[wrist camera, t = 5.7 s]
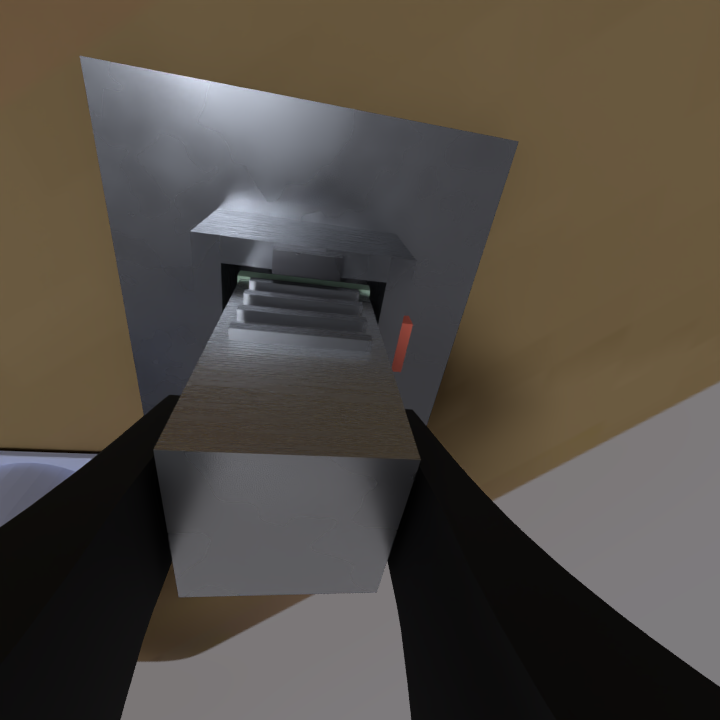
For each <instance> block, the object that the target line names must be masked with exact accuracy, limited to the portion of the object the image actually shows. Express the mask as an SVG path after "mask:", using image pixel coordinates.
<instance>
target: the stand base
mask: <svg viewBox="0 0 720 720" xmlns="http://www.w3.org/2000/svg"><path fill="white" fill-rule="evenodd" d="M80 60H81V66H82V71H83V77H84V82H85V88H86V93H87V99H88V105H89V110H90V116H91V121H92V127H93V133H94V138H95V144H96V149H97V155H98V161H99V166H100V172H101V177H102V183H103V189H104V194H105V200H106V205H107V211H108V217H109V222H110V228H111V233H112V239H113V245H114V250H115V256H116V261H117V267H118V273H119V278H120V284H121V289H122V295H123V301H124V306H125V312H126V317H127V323H128V329H129V334H130V340H131V345H132V351H133V357H134V362H135V368H136V373H137V379H138V385H139V390H140V396H141V401H142V407H143V413H144V415H145V414H146V413H148V412H149V411H150V410H151V409H152V408H153V407H155V406H156V405H157V404H158V403H159V402H161V401H162V400H163V399H164V398H166V397H167V396H168V395H181V394H182V392H183V390H184V388H185V386H186V384H187V382H188V380H189V378H190V376H191V374H192V372H193V370H194V369H195V367H196V365H197V363H198V361H199V359H200V357H201V355H202V353H203V351H204V349H205V347H206V345H207V343H208V341H209V339H210V337H211V335H212V333H213V331H214V329H215V327H216V325H217V323H218V321H219V319H220V317H221V315H222V313H223V311H224V309H225V307H226V305H227V303H228V301H229V299H230V298H231V296H232V294H233V292H234V290H235V288H236V286H237V284H238V281H237V276H238V274H239V272H240V270H241V271H252V272H260V273H269V274H277V275H286V276H295V277H303V278H312V279H320V280H329V281H338V282H346V283H355V284H363V285H369V288H370V296H369V299H370V302H371V305H372V308H373V311H374V315H375V318H376V321H377V324H378V327H379V330H380V333H381V337H382V340H383V343H384V346H385V349H386V352H387V355H388V358H389V362H390V365H391V368H392V371H393V374H394V377H395V380H396V384H397V387H398V390H399V393H400V396H401V399H402V402H403V405H404V409H413V411H414V412H415V413H416V414H417V415H418V416H419V418H420V419H421V420H422V421H423V423H424V424H425V425H426V426H427V423H428V420H429V417H430V414H431V411H432V408H433V404H434V401H435V398H436V395H437V392H438V389H439V386H440V383H441V380H442V377H443V374H444V371H445V367H446V364H447V361H448V358H449V355H450V352H451V349H452V346H453V343H454V340H455V337H456V333H457V330H458V327H459V324H460V321H461V318H462V315H463V312H464V309H465V306H466V303H467V299H468V296H469V293H470V290H471V287H472V284H473V281H474V278H475V275H476V272H477V269H478V265H479V262H480V259H481V256H482V253H483V250H484V247H485V244H486V241H487V238H488V235H489V231H490V228H491V225H492V222H493V219H494V216H495V213H496V210H497V207H498V204H499V201H500V197H501V194H502V191H503V188H504V185H505V182H506V179H507V176H508V173H509V170H510V167H511V164H512V160H513V157H514V154H515V151H516V148H517V145H518V141H513V140H508V139H503V138H498V137H493V136H488V135H482V134H477V133H472V132H467V131H462V130H457V129H452V128H447V127H442V126H436V125H431V124H426V123H421V122H416V121H411V120H406V119H401V118H395V117H390V116H385V115H380V114H375V113H370V112H365V111H360V110H355V109H349V108H344V107H339V106H334V105H329V104H324V103H319V102H314V101H308V100H303V99H298V98H293V97H288V96H283V95H278V94H273V93H268V92H262V91H257V90H252V89H247V88H242V87H237V86H232V85H227V84H221V83H216V82H211V81H206V80H201V79H196V78H191V77H186V76H181V75H175V74H170V73H165V72H160V71H155V70H150V69H145V68H140V67H134V66H129V65H124V64H119V63H114V62H109V61H104V60H99V59H94V58H88V57H83V56H80Z"/></svg>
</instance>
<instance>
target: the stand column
mask: <svg viewBox="0 0 720 720" xmlns="http://www.w3.org/2000/svg"><path fill="white" fill-rule="evenodd" d="M237 281H238V284H237V286H236V288H235V290H234V292H233V294H232V296H231V298H230V299H229V301H228V303H227V305H226V307H225V309H224V311H223V313H222V315H221V317H220V319H219V321H218V323H217V325H216V327H215V329H214V331H213V333H212V335H211V337H210V339H209V341H208V343H207V345H206V347H205V349H204V351H203V353H202V355H201V357H200V359H199V361H198V363H197V365H196V367H195V369H194V370H193V372H192V374H191V376H190V378H189V380H188V382H187V384H186V386H185V388H184V390H183V392H182V394H181V396H180V398H179V400H178V402H177V404H176V406H175V408H174V410H173V412H172V414H171V416H170V418H169V420H168V422H167V424H166V426H165V428H164V430H163V432H162V434H161V436H160V438H159V440H158V441H157V443H156V445H155V447H154V449H153V451H154V457H155V463H156V469H157V474H158V480H159V486H160V492H161V498H162V503H163V509H164V515H165V521H166V527H167V532H168V538H169V544H170V550H171V555H172V561H173V567H174V573H175V579H176V584H177V590H178V596H179V597H210V596H251V595H291V594H331V593H371V592H377V589H378V586H379V584H380V581H381V578H382V575H383V572H384V568H385V566H386V563H387V560H388V557H389V554H390V551H391V548H392V545H393V542H394V539H395V536H396V533H397V530H398V527H399V524H400V521H401V518H402V515H403V512H404V509H405V506H406V503H407V500H408V497H409V494H410V491H411V488H412V485H413V482H414V479H415V476H416V473H417V470H418V467H419V464H420V461H421V459H420V456H419V452H418V449H417V446H416V443H415V440H414V437H413V434H412V431H411V427H410V424H409V421H408V418H407V415H406V412H405V409H404V405H403V402H402V399H401V396H400V393H399V390H398V387H397V384H396V380H395V377H394V374H393V371H392V368H391V365H390V362H389V358H388V355H387V352H386V349H385V346H384V343H383V340H382V337H381V333H380V330H379V327H378V324H377V321H376V318H375V315H374V311H373V308H372V305H371V302H370V299H369V296H370V288H369V285H363V284H355V283H346V282H338V281H329V280H320V279H312V278H303V277H295V276H286V275H277V274H269V273H260V272H252V271H241V270H240V272H239V274H238V276H237Z"/></svg>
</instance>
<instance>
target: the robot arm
mask: <svg viewBox="0 0 720 720" xmlns="http://www.w3.org/2000/svg"><path fill="white" fill-rule="evenodd" d="M180 396H181V395H168V396H167V397H166V398H164V399H163V400H162V401H161V402H159V403H158V404H157V405H156V406H155V407H153V408H152V409H151V410H150V411H149V412H148V413H146V414H145V415H144V416H143V417H142V418H141V419H139V420H138V421H137V422H136V423H135V424H134V425H132V426H131V427H130V428H129V429H128V430H127V431H125V432H124V433H123V434H122V435H121V436H119V437H118V438H117V439H116V440H115V441H113V442H112V443H111V444H110V445H108V446H107V447H106V448H105V449H104V450H102V451H101V452H100V453H99V454H80V453H51V452H22V451H0V720H120V719H121V715H122V711H123V708H124V704H125V701H126V697H127V694H128V690H129V687H130V684H131V680H132V677H133V673H134V670H135V666H136V663H137V659H138V656H139V652H140V649H141V645H142V642H143V639H144V636H145V633H146V630H147V627H148V624H149V621H150V618H151V615H152V612H153V610H154V607H155V605H156V602H157V599H158V597H159V594H160V591H161V589H162V586H163V584H164V581H165V578H166V576H167V573H168V571H169V568H170V565H171V563H172V555H171V550H170V544H169V538H168V532H167V527H166V521H165V515H164V509H163V503H162V498H161V492H160V486H159V480H158V474H157V469H156V463H155V457H154V451H153V449H154V447H155V445H156V443H157V441H158V440H159V438H160V436H161V434H162V432H163V430H164V428H165V426H166V424H167V422H168V420H169V418H170V416H171V414H172V412H173V410H174V408H175V406H176V404H177V402H178V400H179V398H180ZM405 412H406V415H407V418H408V421H409V424H410V427H411V431H412V434H413V437H414V440H415V443H416V446H417V449H418V452H419V456H420V459H421V461H420V464H419V467H418V470H417V473H416V476H415V479H414V482H413V485H412V488H411V491H410V494H409V497H408V500H407V503H406V506H405V509H404V512H403V515H402V518H401V521H400V524H399V527H398V530H397V533H396V536H395V539H394V542H393V545H392V548H391V551H390V554H389V557H388V560H387V561H388V565H389V570H390V574H391V580H392V584H393V589H394V594H395V599H396V603H397V609H398V614H399V621H400V626H401V632H402V642H403V650H404V658H405V666H406V675H407V683H408V692H409V701H410V711H411V720H720V687H719V686H718V685H716V684H715V683H714V682H712V681H711V680H709V679H708V678H706V677H705V676H703V675H702V674H701V673H699V672H698V671H697V670H695V669H694V668H692V667H691V666H690V665H688V664H687V663H685V662H684V661H682V660H681V659H680V658H679V657H677V656H676V655H674V654H673V653H672V652H670V651H669V650H667V649H666V648H665V647H663V646H662V645H661V644H659V643H658V642H656V641H655V640H654V639H652V638H651V637H649V636H648V635H647V634H646V633H644V632H643V631H642V630H640V629H639V628H638V627H636V626H635V625H634V624H632V623H631V622H630V621H628V620H627V619H626V618H625V617H623V616H622V615H621V614H619V613H618V612H617V611H615V610H614V609H613V608H612V607H611V606H609V605H608V604H607V603H606V602H604V601H603V600H602V599H601V598H599V597H598V596H597V595H595V594H594V593H593V592H592V591H591V590H589V589H588V588H587V587H586V586H584V585H583V584H582V583H581V582H580V581H578V580H577V579H576V578H575V577H573V576H572V575H571V574H570V573H569V572H568V571H566V570H565V569H564V568H563V567H562V566H561V565H559V564H558V563H557V562H556V561H555V560H554V559H553V558H551V557H550V556H549V555H548V554H547V553H546V552H545V551H544V550H543V549H542V548H540V547H539V546H538V545H537V544H536V543H535V542H534V541H533V540H531V538H529V537H528V536H527V535H526V534H525V533H524V532H523V531H521V529H520V528H519V527H518V526H517V525H515V524H514V523H513V522H512V521H511V520H510V519H509V518H508V517H507V516H506V515H505V514H504V513H503V512H502V511H501V510H500V509H499V507H498V506H497V505H496V504H495V503H493V501H492V500H491V499H490V498H489V497H488V496H487V495H486V494H485V493H484V492H483V491H482V490H481V489H480V488H479V487H478V486H477V484H476V483H475V482H474V481H473V480H472V479H471V478H470V477H469V476H468V475H467V473H466V472H465V471H464V470H463V469H462V468H461V467H460V466H459V464H458V463H457V462H456V461H455V460H454V459H453V457H452V456H451V455H450V454H449V453H448V452H447V450H446V449H445V448H444V447H443V446H442V444H441V443H440V442H439V441H438V440H437V438H436V437H435V436H434V435H433V434H432V432H431V431H430V430H429V429H428V427H427V426H426V425H425V424H424V423H423V421H422V420H421V419H420V418H419V416H418V415H417V414H416V413H415V412H414V411H413V409H405Z"/></svg>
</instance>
